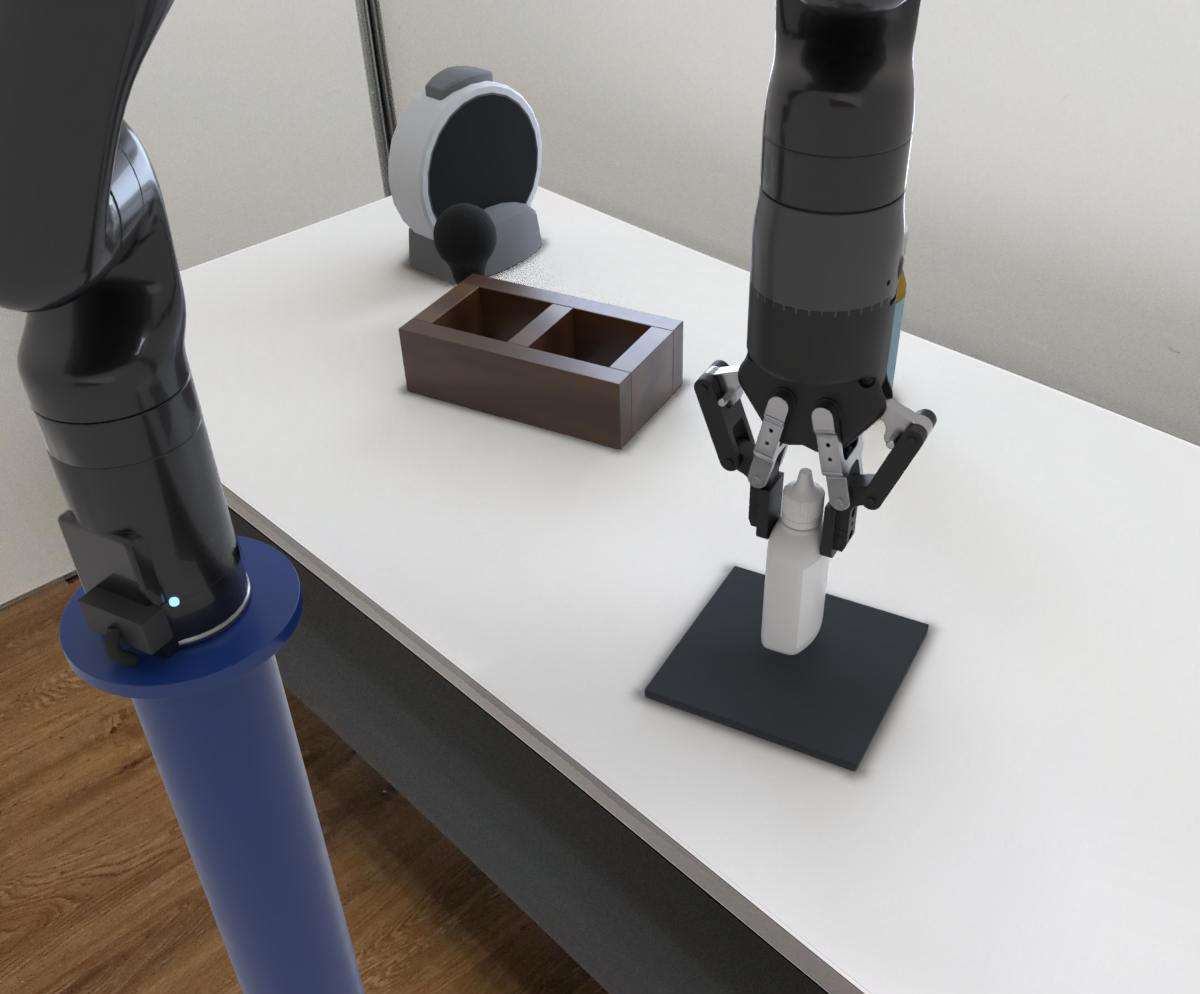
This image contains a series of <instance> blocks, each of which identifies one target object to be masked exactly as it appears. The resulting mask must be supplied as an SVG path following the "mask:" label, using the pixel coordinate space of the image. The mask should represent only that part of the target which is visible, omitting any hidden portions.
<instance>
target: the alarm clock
mask: <svg viewBox="0 0 1200 994" xmlns="http://www.w3.org/2000/svg"><path fill="white" fill-rule="evenodd" d="M540 130H541V129H540V125H539V123H538V120H537V118H536V116H535V113H534V111H533V108H532V107H531V105H530V104H529V103H528V102H527V100H526V99H525V98H524V97H523V95H522V94H521V93H519V92H518V91H516V90H515V89H513V88H512V87H511V86H509V85H507V84H503V83H500V82H497V81H494V76H493V72H492V71H490V70H487V69H484V68H481V67H477V66H472V65H471V66H470V65H455V66H449V67H448V66H447V67H446V68H444V69H442V70H440V71H439V72H437V73H436V74H435V75H433V76H431V78H430V79H429V80H428V81H427V83H426V84H425V85H424V86H423V87H422V88H421V89H420V90H419V91H418V92H417V93H415V95H414V96H413V97H411V99H410V100H409V102H408V104H407V105H406V107H405V108H404V110H403V112H402V113H401V114H400V116H399V119H398V121H397V124H396V126H395V129H394V132H393V135H392V136H391V142H390V148H389V153H388V160H387V171H388V186H389V190H390V195H391V198H392V202H393V205H394V207H395V209H396V211H397V212H398V214H399V216H400V218H401V219H402V222H404V223H405V225H407V226H408V264H409V266H410V267H412V268H415V269H417V270H419V271H421V272H423V273H426V274H428V275H431V276H433V277H434V278H437V279H439V280H442V281H444V282H446V283H449V284H451V285H457V284H456V282H455V280H454V278H453V275H452V271H451V269H450V267H449V265H448V264H447V263H446V262H445V261H444V260H443V259H442V258H441V256H440V255H439V254H438V252H437V250H436V248H435V244H434V239H433V231H434V226H435V223H436V221H437V219H438V217H439V216H440V215H441V214H442V212H443V211H444V210H446V209H447V208H449V207H450V206H453V205H456V204H460V203H467V204H472V205H475V206H478V207H480V208H481V209H483V210H484V211H485V212H486V213H487V214H488V215H489V216H490V217H491V219H492V221H493V222H494V225H495V228H496V233H497V242H496V246H495V250H494V252H493V254H492V256H491V257H490V258H489V260H488V262H487V264H486V270H485V276H486V277H490V276H493V275H495V274H498V273H501V272H502V271H503V272H504V271H505V270H508V269H511V268H513V267H514V266H516V265H518V264H519V263H521V262H523V261H525V260H527V259H528V258H530V257H531V256H532V255H533V254H535V253H536V252H537V251H538V250H539V249H540V248H541V247H542V245H543V241H542V235H541V230H540V225H539V221H538V219H539V218H538V214H537V211H536V210H535V209H533V208H532V207H531V206H532V204H533V200H534V198H535V195H536V193H537V190H538V187H539V182H540V178H541V172H542V168H543V166H542V165H543V143H542V136H541V131H540Z"/></svg>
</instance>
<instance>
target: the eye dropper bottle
mask: <svg viewBox="0 0 1200 994" xmlns="http://www.w3.org/2000/svg"><path fill="white" fill-rule="evenodd" d="M813 478H814V476H813V471H812V469H811V468H809V467H802V468H800V469H799V472H798V474H797V478H796V480H792V481H790V482H789V483H787V484H786V485H785V486H783V494H782V507H781V517H780V519H779V520H778V521H777V522H776V524H775V525H774V527H773V529H772V531H771V534H770V537H769V539H768V541H767V547H766V548H767V549H766V557H765V573H764V575H765V586H764V600H763V615H762V630H761V640H762V644H763V646H764V647H765V648H767V649H770V650H773V651H776V652H780V653H783V654H787V655H795V654H797V653H799V652H801V651H802V650H803V649H805V648H806V647H807V646H808V645H809V644H810V643H811V642H812V641H813V640H814V639H815V637H816V636H817V634H818V632H819V630H820V627H821V624H822V619H823V612H824V602H825V593H827V583H828V574H829V565H830V558H829V557H826V556H822V555H820V549H821V539H822V529H823V520H824V510H825V499H826V491H825V489H824V487H823V486H822V485H820V483H818V482H815V481H814V479H813Z"/></svg>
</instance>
